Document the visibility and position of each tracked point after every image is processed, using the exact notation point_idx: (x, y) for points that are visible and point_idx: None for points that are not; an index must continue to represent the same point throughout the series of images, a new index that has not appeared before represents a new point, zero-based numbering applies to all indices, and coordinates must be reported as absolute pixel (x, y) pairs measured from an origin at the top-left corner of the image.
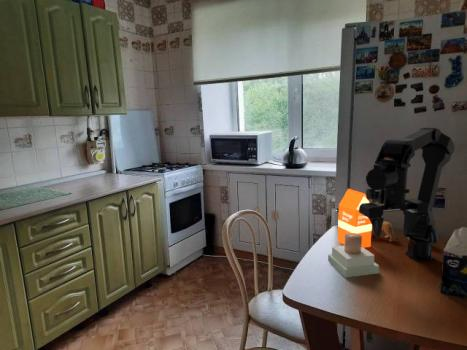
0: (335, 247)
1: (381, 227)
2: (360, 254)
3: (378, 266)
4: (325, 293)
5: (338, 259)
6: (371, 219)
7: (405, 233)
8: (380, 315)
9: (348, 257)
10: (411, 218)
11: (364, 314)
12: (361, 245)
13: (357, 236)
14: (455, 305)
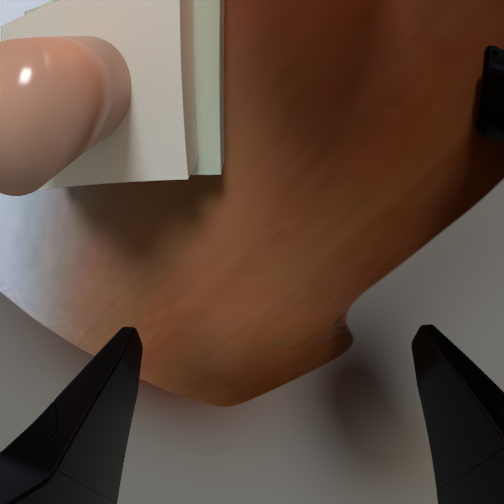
0: (11, 32)
1: (117, 468)
2: (105, 149)
3: (217, 172)
4: (2, 247)
5: None
6: (18, 472)
7: (417, 348)
8: None
9: None
10: (452, 493)
11: (79, 335)
12: (103, 127)
13: (29, 143)
14: (317, 358)
